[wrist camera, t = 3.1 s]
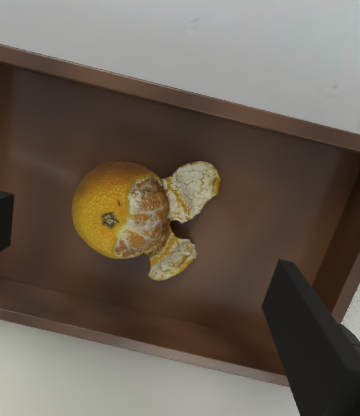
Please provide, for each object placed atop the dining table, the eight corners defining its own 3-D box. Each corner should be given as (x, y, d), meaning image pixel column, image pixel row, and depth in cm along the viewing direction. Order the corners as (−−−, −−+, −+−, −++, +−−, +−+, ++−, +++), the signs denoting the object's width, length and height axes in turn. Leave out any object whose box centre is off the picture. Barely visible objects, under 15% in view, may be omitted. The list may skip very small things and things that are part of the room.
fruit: (186, 281, 20) (184, 314, 17) (70, 247, 20) (43, 273, 16) (226, 167, 18) (233, 177, 14) (95, 126, 18) (70, 126, 14)
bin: (-33, 276, 21) (-73, 302, 18) (-25, 43, 17) (-75, 25, 14) (292, 353, 22) (309, 391, 19) (381, 145, 17) (422, 150, 14)
